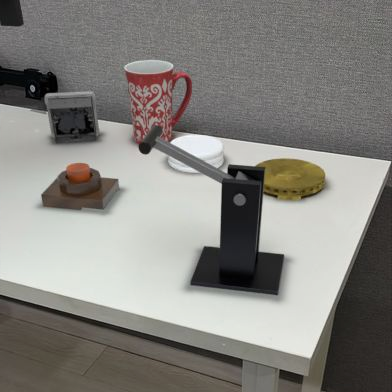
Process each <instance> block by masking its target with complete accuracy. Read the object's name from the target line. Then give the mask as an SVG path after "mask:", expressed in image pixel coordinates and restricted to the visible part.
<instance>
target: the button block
mask: <svg viewBox="0 0 392 392" xmlns="http://www.w3.org/2000/svg"><path fill="white" fill-rule="evenodd" d="M90 174H91V178H90V179H87V180H85V181H78V182H77V181H70V180H68V177H67V171H66V169H65V170H63V171H61V172H60V173H59V174H58V175H57V177H56V178H55V179H54V180H53V181H52V182H51V184H49V186H48V187H47V188H46V189H44V191H43V192H42V193H41V194H40V197H41V201H42V207H43V208H44V207H46V208H53V209H55V208H56V209H63V210H75V211H82V210H83V209H93V210H105V208H106V207H107V206H108V204H109V203H110V202H111V200H112V199H113V197H114V196H115V195H116V193H117V192H118V191H120V181H119V178H113V177H102V176H101V173H100V171H99V170H97V169H94V168H92V167H90Z"/></svg>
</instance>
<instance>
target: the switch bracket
mask: <svg viewBox="0 0 392 392" xmlns="http://www.w3.org/2000/svg"><path fill="white" fill-rule="evenodd" d="M226 167H227V169H226V173H227V174H229V175H231V176H233V177H234V178H235V177H236V175H237V173H238V171H240V172H242V173H243V174H245V175H247V176H249V177H251V178H253V179H255V180H256V181H252V180H240V179H228V178H223V180H222V184H221V192H220V194H221V195H220V223H219V225H220V226H219V227H220V229H219V231H220V232H219V247H218V246H209V245H203V248H202V251H201V253H200V256H199V258H198V261H197V264H196V265H195V266H196V267H195V268H194V271H193V274H192V277H191V279H190V281H189V282H190V286H194V287H202V288H212V289H221V290H230V291H237V292H247V293H254V294H262V295H263V294H264V295H272V296H278V295H279V289H280V283H281V279H282V272H283V265H284V260H285V254H284V253H275V252H265V251H260V240H261V229H262V218H263V217H262V216H263V203H264V180H265V167H257V166H256V165H243V164H228V165H227V166H226Z"/></svg>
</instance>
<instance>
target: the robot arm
mask: <svg viewBox="0 0 392 392" xmlns="http://www.w3.org/2000/svg"><path fill="white" fill-rule="evenodd" d="M21 5H22V4H21V0H0V26H1V27H21V26H22V27H23V26H24V25H25V22H24V16H23V11H22V6H21Z"/></svg>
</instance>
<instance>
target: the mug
mask: <svg viewBox="0 0 392 392" xmlns="http://www.w3.org/2000/svg"><path fill="white" fill-rule="evenodd" d="M174 67H175V66H174V65H173V64H172V63H171V62H169V61H165V60H160V59H159V60H158V59H145V60H136V61H132V62H129V63H127V64H125V65H124V66H123V69H124V72H125V78H126V86H127V94H128V101H129V107H130V115H131V123H132V129H133V130H132V131H133V138H134V142H135V143H136V144H137V145H139V144H140V142H141V141H142V140H143V139H144V137H145V136H146V135H147V133H148V132H149V131H150V129H151V128H152V127H153V126H154V125H159V126H160V127H161V128H162V129H163V134H162V136H161V137H160V138H162V139H164V140H166V141H167V142H169V143H170V142H171V141H172V140H173V137H172V136H173V129H174V128H175V126H176V125H177V123H178V122H179V120H180V119H181V118H182V116H183V115H184V113H185V111H186V109H187V107H188V105H189V103H190V100H191V96H192V92H193V83H192V79H191V77H190V76H189V74H187V73H185V72H183V71H177V72H175V73H173V72H174ZM181 78H182V79H184V80H185V83H186V89H185V95H184V97H183V99H182V102H181V104H180V105H179V108H178V109H177V110H176V112H175V113H174V114H173V90H174V89H175V87H176V83H177V82H178V80H180V79H181Z"/></svg>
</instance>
